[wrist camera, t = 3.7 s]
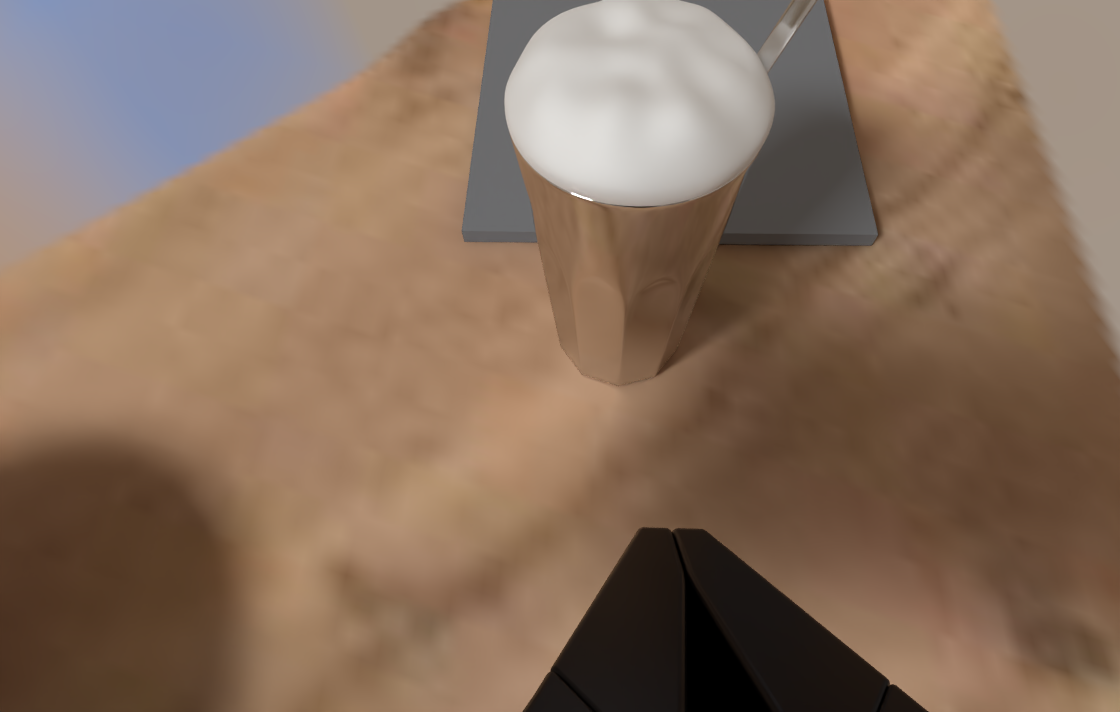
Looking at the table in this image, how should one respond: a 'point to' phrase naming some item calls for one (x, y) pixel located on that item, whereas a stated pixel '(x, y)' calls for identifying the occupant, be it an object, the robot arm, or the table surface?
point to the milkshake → (636, 166)
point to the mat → (780, 169)
